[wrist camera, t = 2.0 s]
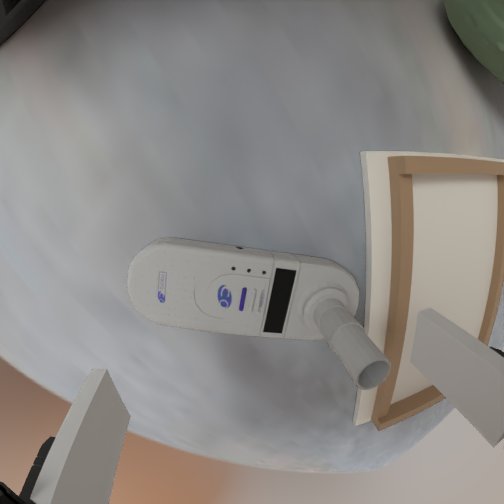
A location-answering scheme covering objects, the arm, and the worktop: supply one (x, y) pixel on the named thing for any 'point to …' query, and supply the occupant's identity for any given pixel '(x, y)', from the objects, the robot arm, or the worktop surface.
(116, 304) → the worktop surface
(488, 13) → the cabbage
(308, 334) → the electronic device
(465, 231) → the wooden framed canvas
